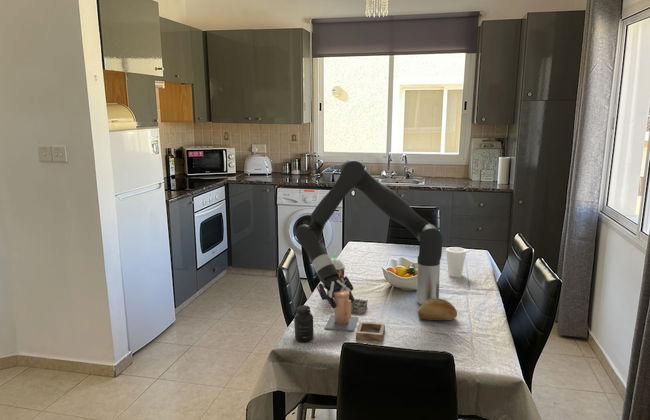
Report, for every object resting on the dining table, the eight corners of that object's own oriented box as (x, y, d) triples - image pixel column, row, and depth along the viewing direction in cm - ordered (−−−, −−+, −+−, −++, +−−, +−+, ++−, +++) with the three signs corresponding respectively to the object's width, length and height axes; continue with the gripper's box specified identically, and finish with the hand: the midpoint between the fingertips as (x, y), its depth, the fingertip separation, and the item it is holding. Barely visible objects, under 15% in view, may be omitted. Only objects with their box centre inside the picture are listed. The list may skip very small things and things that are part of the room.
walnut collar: (384, 329, 178) (384, 323, 177) (382, 341, 169) (382, 334, 168) (359, 327, 180) (359, 321, 179) (356, 339, 171) (356, 332, 170)
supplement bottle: (294, 335, 175) (293, 304, 172) (313, 334, 175) (312, 303, 173) (294, 344, 168) (294, 312, 166) (314, 343, 168) (313, 311, 166)
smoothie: (343, 299, 207) (342, 255, 203) (324, 298, 209) (323, 254, 205) (346, 292, 215) (346, 249, 211) (328, 291, 217) (327, 249, 213)
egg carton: (338, 310, 197) (338, 301, 196) (345, 304, 203) (345, 294, 202) (362, 314, 192) (362, 305, 191) (369, 308, 198) (369, 298, 198)
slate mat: (358, 318, 188) (358, 317, 188) (353, 331, 177) (353, 330, 176) (331, 316, 190) (331, 314, 190) (324, 329, 179) (324, 328, 179)
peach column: (331, 321, 184) (331, 292, 182) (342, 317, 188) (342, 288, 185) (343, 328, 178) (343, 297, 176) (355, 324, 182) (355, 294, 179)
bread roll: (459, 324, 181) (459, 305, 180) (419, 323, 183) (419, 304, 181) (454, 314, 191) (455, 295, 189) (416, 313, 192) (417, 294, 190)
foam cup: (443, 276, 234) (444, 251, 231) (446, 271, 242) (447, 246, 239) (463, 279, 230) (465, 253, 228) (465, 273, 239) (467, 248, 236)
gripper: (314, 267, 181) (333, 305, 174) (343, 260, 189) (362, 295, 182) (306, 277, 186) (324, 314, 179) (335, 269, 194) (353, 304, 188)
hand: (343, 304), depth 181 cm, fingers open, 8 cm apart
